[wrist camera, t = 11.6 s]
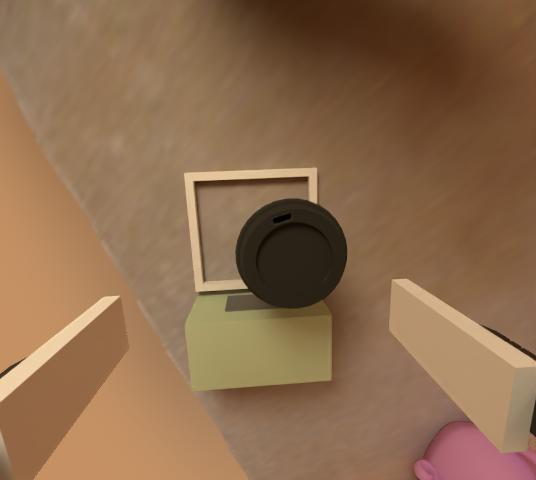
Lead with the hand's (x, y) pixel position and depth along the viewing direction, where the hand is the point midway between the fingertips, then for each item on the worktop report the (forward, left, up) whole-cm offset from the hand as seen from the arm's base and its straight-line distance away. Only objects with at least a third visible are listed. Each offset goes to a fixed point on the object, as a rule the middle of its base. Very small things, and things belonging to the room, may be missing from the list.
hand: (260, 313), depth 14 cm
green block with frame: (+5, 0, -24) cm, 25 cm away
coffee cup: (0, +3, -24) cm, 25 cm away
